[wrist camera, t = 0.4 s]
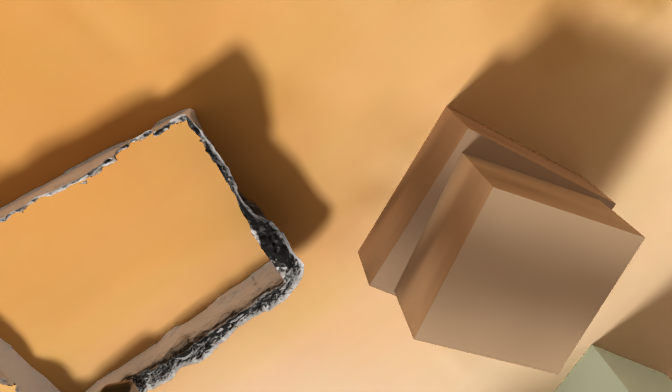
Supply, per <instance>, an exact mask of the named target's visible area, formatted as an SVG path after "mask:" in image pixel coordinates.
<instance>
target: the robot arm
mask: <svg viewBox="0 0 672 392" xmlns="http://www.w3.org/2000/svg"><path fill="white" fill-rule="evenodd" d="M100 392H138V389H137V387H136V385H135V384H134V382H132V381H130V380H127V381H122V382H116V383H110V384H107V385H105V386H104V387H103V388H102V389H101V391H100Z"/></svg>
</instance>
